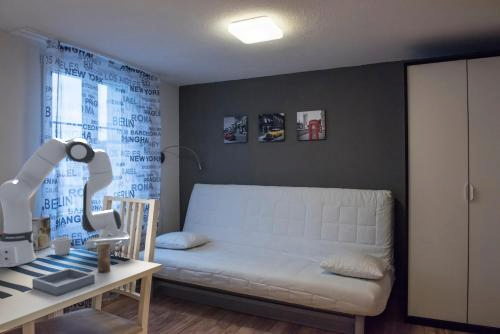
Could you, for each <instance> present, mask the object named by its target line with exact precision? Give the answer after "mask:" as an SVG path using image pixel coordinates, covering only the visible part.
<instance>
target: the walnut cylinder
mask: <svg viewBox="0 0 500 334" xmlns="http://www.w3.org/2000/svg"><path fill="white" fill-rule="evenodd" d="M110 271H111V248H110V243H99V244H98V248H97V273H99V274H106V273H109V272H110Z"/></svg>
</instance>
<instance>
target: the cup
mask: <svg viewBox="0 0 500 334" xmlns="http://www.w3.org/2000/svg"><path fill="white" fill-rule="evenodd" d="M71 243H72V238H71V237H70V236H61V237H55V238H54V239H52V240H51V242H50V246H49V249H51V250H53V251H54V254H55V255H56V256H66V255H68V254H69V253H70V251H71Z"/></svg>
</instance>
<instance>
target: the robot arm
mask: <svg viewBox="0 0 500 334" xmlns="http://www.w3.org/2000/svg"><path fill="white" fill-rule="evenodd" d="M108 154H109V153H108V152H107V151H105V150H103V149H93V148H92V146H91V144H90V142H89V141H87V139H85V138H82V137H75V138H71V139H69V140H65V141H63V140H62V139H60V138H56V137H52V138H49V139H48V140H47V141H45V142H44V143H43V144H42V145H40V147H38V148H37V149H36V151H34V153H33V154H32V155H31V156H30V157H29V158H28V159H27V160H26V161H25V162H24V164H23V166H22V167H21V169H20V171H19V172H18V174H17V175H16V176H15V177H14V178H13V179H10V180H7V181H4V182H3V183H2V184H1V185H0V205H1V209H2V210H1V211H2V214H3V215H2V216H3V231H2V232H1V233H0V268H12V267H17V266H19V265H24V264H28V263H31V262H33V261H35V260H36V259H37V257H36V253H35V250H34V249H33V230H32V219H33V217H32V216H33V214H32V211H31V208H30V203H29V199H31V198H32V197H33V196H34V195H35V194H36V192H37V191H38V190H39V188H40V187H41V186H42V184H43V183H44V182H45V179H46V178H47V177H48V176H49V175H50V174H51V173H52V172H53V171H54V169H55V168H56V167H57V166H58V165H59V163H60V162H61V161H62V160H64V159H66V158H68V159H69V160H71V161H73V162H75V163H82V164H86V166H87V170H88V177H89V178H88V181H87V182H86V183H84V186H83V194H82V219H81V227H82V230H84V231H85V232H88V233H89V234H90V233H95V232H97V231H102V230H103V232H102V234H101V236H97V237H89V238H87V239H86V240H85V248H86V249H98V244H99V243H110V249H112V248H116V247H117V248H118V247H119V248H120V247H124V246H131V236H130V234H129V233H128V231H123V230H122V231H121V230H120V229H121V227H122V219H121V215H120V213H119V212H118V211H117V210H116V209H108V210H107V209H105V210H101V211H95V212H93V211H92V209H93V207H92V205H93V196H94V195H95V194H97V193H99V192H100V191H102V190H104V189H105V188H108V186H110V185H111V184H112V182H113V178H114V176H113V175H114V174H113V167H112V164H111V160H110V157H109V155H108Z"/></svg>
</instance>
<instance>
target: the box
mask: <svg viewBox="0 0 500 334" xmlns="http://www.w3.org/2000/svg"><path fill="white" fill-rule="evenodd" d="M95 277H96V276H95V273H91V272H88V271H84V270H80V269H76V268H73V267H69V268H65V269H63V270H62V269H61V270H58V271H55V272H51V273H49V274H48V273H47V274H45V275H42V276H38V277H34V278H32V282H31V283H32V289H34V290H36V291H40V292H43V293H46V294H47V295H51V296H54V297H60V296H62V295H65V294H68V293H71V292H73V291H76V290H79V289H82V288H85V287H87V286H90V285H94V284H95Z"/></svg>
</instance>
